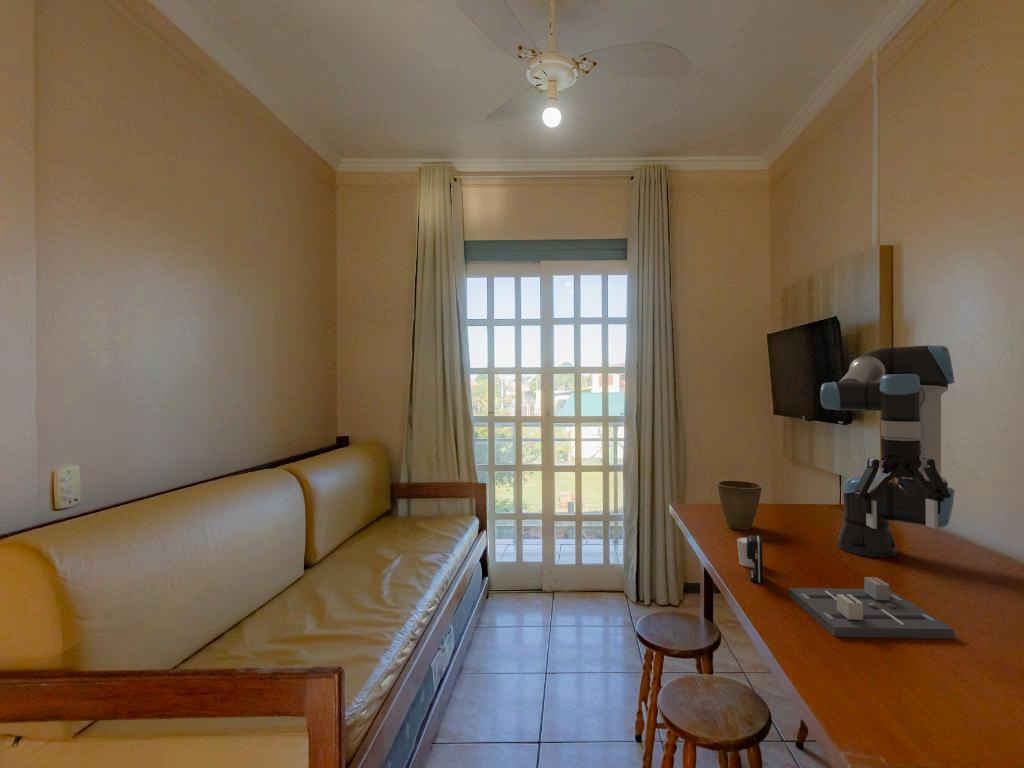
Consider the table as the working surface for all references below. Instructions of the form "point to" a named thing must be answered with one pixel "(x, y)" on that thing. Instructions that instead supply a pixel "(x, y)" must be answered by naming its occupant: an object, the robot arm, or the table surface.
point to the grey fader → (876, 588)
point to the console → (870, 615)
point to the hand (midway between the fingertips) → (901, 527)
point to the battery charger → (755, 557)
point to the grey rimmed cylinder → (743, 552)
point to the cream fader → (849, 606)
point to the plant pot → (739, 502)
